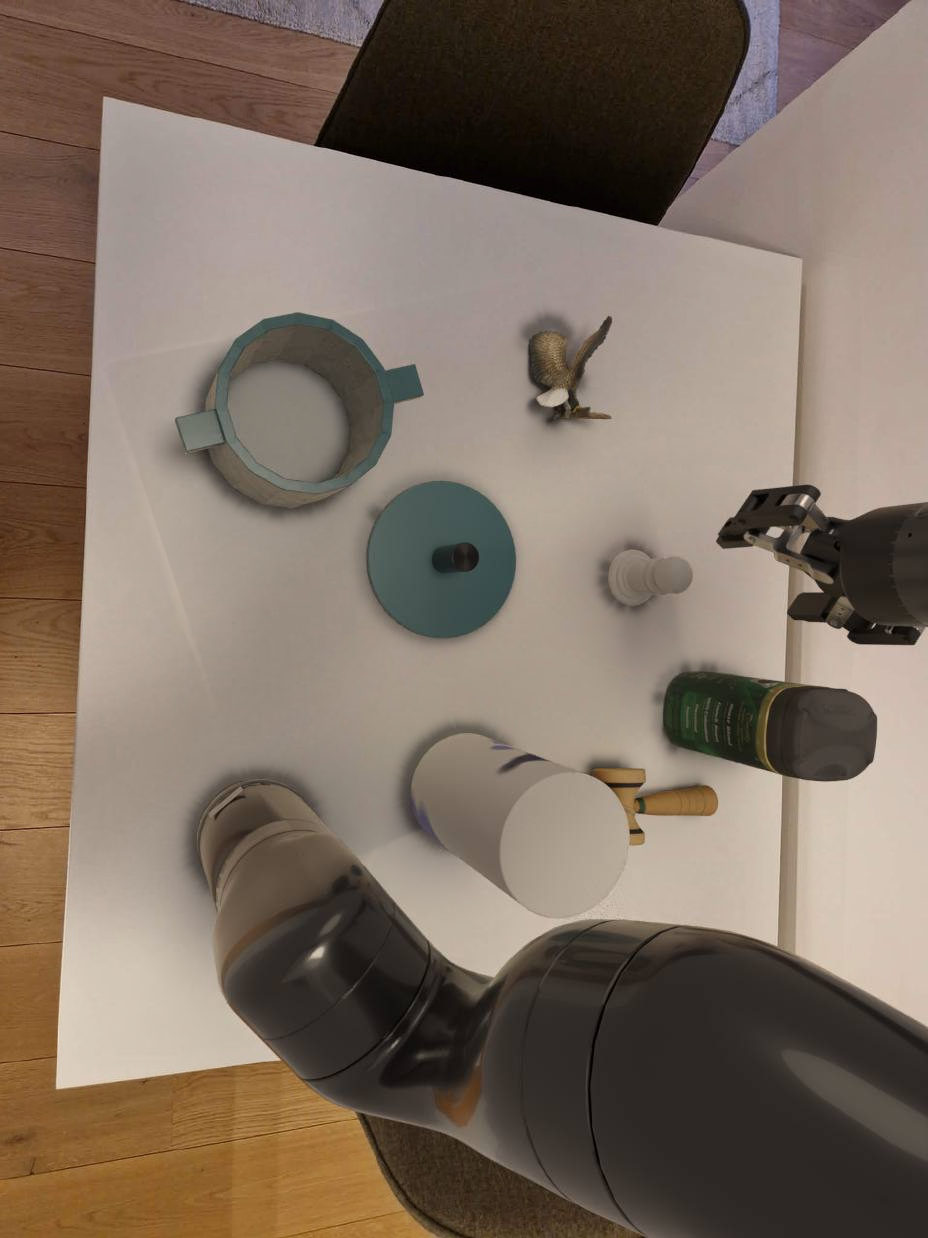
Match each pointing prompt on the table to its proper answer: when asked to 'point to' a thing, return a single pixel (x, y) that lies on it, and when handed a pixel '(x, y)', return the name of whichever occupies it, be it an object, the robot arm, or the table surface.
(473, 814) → the container
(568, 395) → the eagle figurine
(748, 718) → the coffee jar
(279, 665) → the table surface
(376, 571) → the lid
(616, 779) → the kendama
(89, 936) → the table surface
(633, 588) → the chess piece
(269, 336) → the pot
